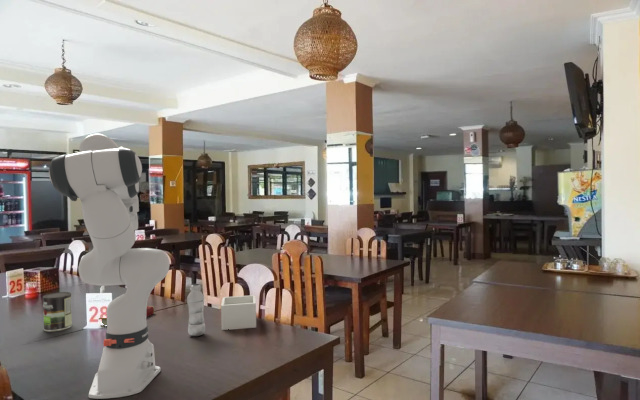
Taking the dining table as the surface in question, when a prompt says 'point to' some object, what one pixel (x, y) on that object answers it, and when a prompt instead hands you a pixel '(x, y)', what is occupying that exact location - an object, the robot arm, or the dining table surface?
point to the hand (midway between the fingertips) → (127, 243)
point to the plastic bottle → (196, 311)
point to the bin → (238, 312)
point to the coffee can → (57, 311)
